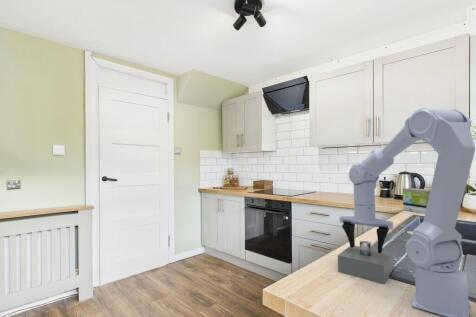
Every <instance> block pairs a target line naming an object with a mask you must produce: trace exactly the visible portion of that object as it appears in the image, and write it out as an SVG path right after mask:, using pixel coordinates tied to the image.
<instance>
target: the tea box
mask: <svg viewBox="0 0 476 317" xmlns="http://www.w3.org/2000/svg"><path fill="white" fill-rule="evenodd" d="M430 190H431V189H427V188H415V187H409V188H408V187H407V188H402V208H403V211H408V212H414V213H419V214H424V215H425V212H426V207H427V203H428V199H429V194H430Z"/></svg>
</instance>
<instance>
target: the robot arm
mask: <svg viewBox="0 0 476 317" xmlns="http://www.w3.org/2000/svg"><path fill="white" fill-rule="evenodd" d="M404 121H405V122H404V126H403V127H402V128H401V129H400V130H399V132H397V134H395V135H394V137H392V139H390V140H389V141H388V143H387V144H386V145H385V146H384V147H383V148H376V149H372V150H371V152H370V154H369V155H368V156H367V157H366V158H365V159H363V160H361V162H360V163H359V164H352V166H351V167H350V168H349V171H348V178H349V180H350V182H351V183H352V184H353V210H354V211H353V212H354V213H353V214H354V216H352V215H350V216H349V215H340V216H339V223H340V224H342V226H341V227H342V229H343V231H344V232H345V235H346V237H347V240H348V242H349V246H350V247H351V248H353V247H354V246H356V245H355V244H356V242H355V241H356V240H355V227H356V225H358V226H367V227H373V228H377V229H376V236H377V250H378V253H381V252H382V251H383V247H384V243H385V240H386V238H387V235H388V233H389V232H390V230H393V229H394V221H392V220H385V219H379V218H376V198H375V197H376V195H375V192H376V190H375V189H376V188H377V182H378V180H379V178H380V175H381V174H382V173H383V172H385V171H386V170H387V169H389V168H390V167H391V166H392V165H394V162H395V160H394V158H395V157H397V156H398V155H399V154H401V153H402V152H403V151H405V150H406V149H407V148H409V147H411V146H412V145H413V144H415V143H416V142H418V141H423V142H425V143H426V144H428V145H429V146H431V147H432V149H434V150H435V152H436V153H437V154H438V156H437V159H436V164H435V170H434V174H433V177H432V182H431V185H430V189H429V190H430V194H429V199H428V203H427V207H426V212H425V214H424V217H423V221H422V222H421V223H419V225H417V226H416V227H415V228H414V229H413V231H412V235H411V237H410V238H409V239H408V240H407V241H406V243H405V251H406V254H407V257H408V258H409V260H410V261H411V262H412V263H411V264H412V265H413V266H414V282H415V283H414V284H415V294H414V295H413V299H412V303H411V306H412V307H413V308H415V309H420V310H422V311H426V312H430V313H432V314H436V315H440V316H443V317H470V311H469V310H472V309H471V299H469V285H468V273H467V272H466V271H462V270H459V269H457V262H459V261H460V260H461V259H462V257H463V253H464V252H463V247H462V238H463V236H462V234H461V233H460V232H459V231H458V230H456V226H457V221H458V217H459V214H460V210H461V207H462V203H463V199H464V195H465V191H466V187H467V183H468V179H469V175H470V173H471V172H470V171H471V168H472V164H473V159H474V157H475V153H476V152H475V151H476V144H475V142H474V138H473V136H472V132H471V125H472V120H471V119H470V118H469V117H468V116H467V115H466V114H465V113H463V111H461V110H459V109H458V110H457V109H437V108H435V109H434V108H433V109H432V108H427V107H423V108H418V109H417V110H416V111H414V112H413V113H412V114H411V116H409V117H408V118H406V119H405V120H404Z"/></svg>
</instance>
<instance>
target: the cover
mask: <svg viewBox="0 0 476 317" xmlns="http://www.w3.org/2000/svg"><path fill="white" fill-rule="evenodd" d="M394 259H395V258H394V253H393V252H389V251H385V250H384V251H383V250H382V252H381V253H378V249H373V248H372V242H371V241H367V240H361V241H359V246H358V245H355V246H354V247H353V248H351V247H350V245H349V246H348V247H346V248H345V249H344V250H343V251H341V252H340V253H338V255H337V271H338V273H341V274H346V275H348V276H349V275H350V276H353V277H356V278H360V279H364V280H367V281H372V282H374V283H375V282H376V283H379V284H382V285H385V284H386V283H387V280H388V279H389V277H390V276H391V275H390V273H391V272H392V270H393V269H395V268H394V267H395V266H394ZM393 271H394V270H393ZM392 273H393V272H392ZM392 273H391V274H392ZM389 275H390V276H389Z"/></svg>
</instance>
